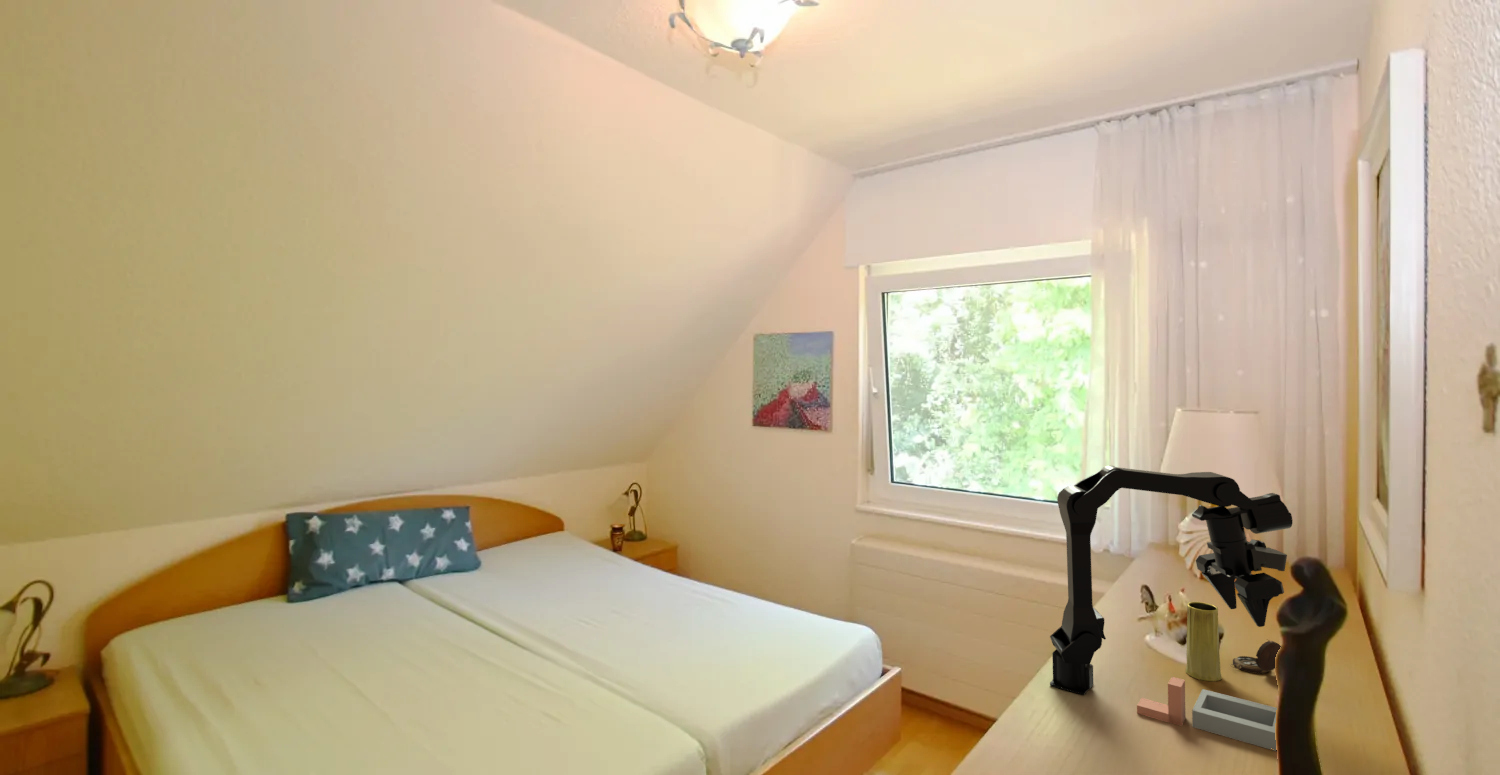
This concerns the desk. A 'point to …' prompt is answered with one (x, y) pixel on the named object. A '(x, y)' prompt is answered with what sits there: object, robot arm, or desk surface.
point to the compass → (1259, 659)
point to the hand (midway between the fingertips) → (1246, 617)
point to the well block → (1235, 718)
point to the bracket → (1167, 712)
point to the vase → (1203, 642)
